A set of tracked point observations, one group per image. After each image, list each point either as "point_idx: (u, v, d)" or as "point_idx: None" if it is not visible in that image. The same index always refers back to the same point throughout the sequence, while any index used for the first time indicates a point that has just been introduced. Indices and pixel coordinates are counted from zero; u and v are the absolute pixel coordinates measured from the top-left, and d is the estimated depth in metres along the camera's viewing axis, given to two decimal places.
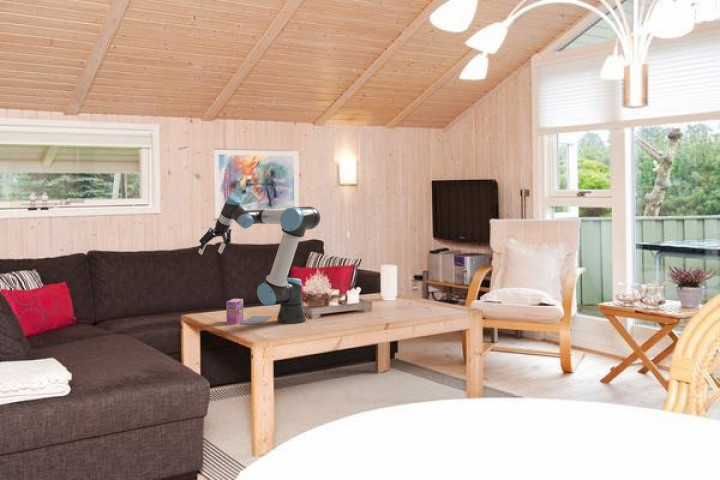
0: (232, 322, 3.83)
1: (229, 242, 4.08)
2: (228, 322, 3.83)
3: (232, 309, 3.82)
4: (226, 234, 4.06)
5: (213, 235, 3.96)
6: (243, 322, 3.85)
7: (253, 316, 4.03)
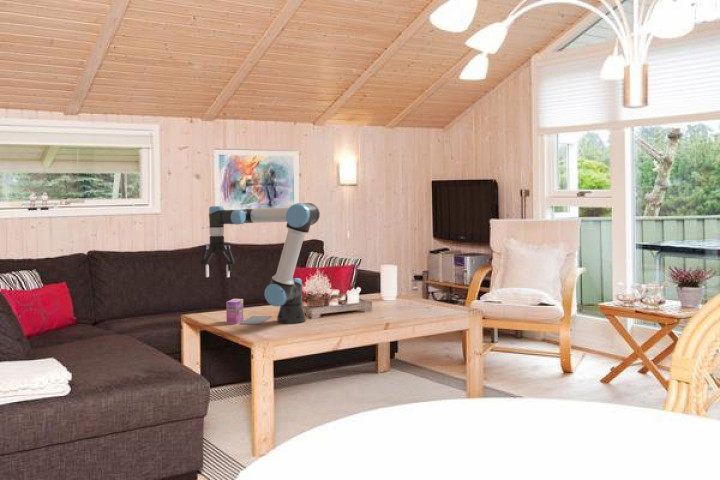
0: (232, 322, 3.83)
1: (231, 262, 3.85)
2: (228, 322, 3.83)
3: (232, 309, 3.82)
4: None
5: (210, 252, 3.87)
6: (243, 322, 3.85)
7: (253, 316, 4.03)
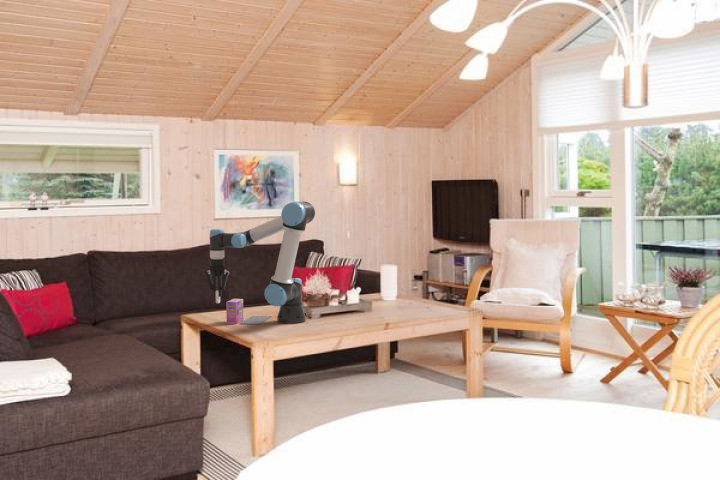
0: (232, 322, 3.83)
1: (222, 288, 3.87)
2: (228, 322, 3.83)
3: (232, 309, 3.82)
4: None
5: None
6: (243, 322, 3.85)
7: (253, 316, 4.03)
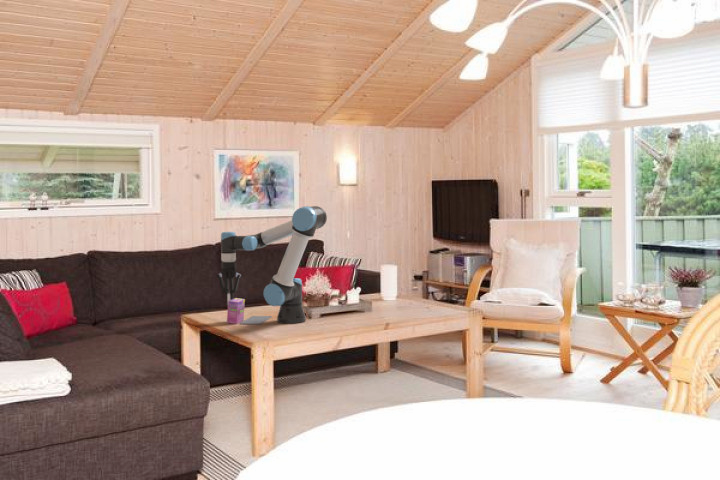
0: (232, 322, 3.83)
1: (233, 291, 3.86)
2: (228, 321, 3.83)
3: (233, 309, 3.82)
4: None
5: (225, 279, 3.86)
6: (243, 322, 3.85)
7: (253, 316, 4.03)
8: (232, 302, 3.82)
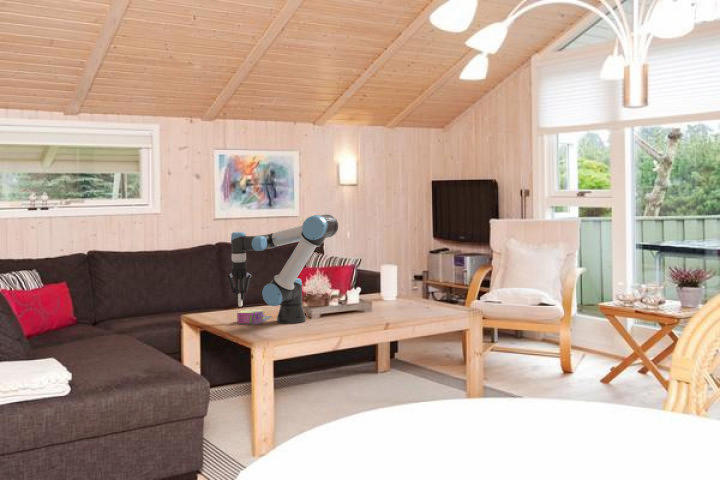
0: (238, 319, 3.82)
1: (244, 291, 3.85)
2: (238, 314, 3.82)
3: (251, 319, 3.81)
4: None
5: None
6: None
7: None
8: (257, 317, 3.81)
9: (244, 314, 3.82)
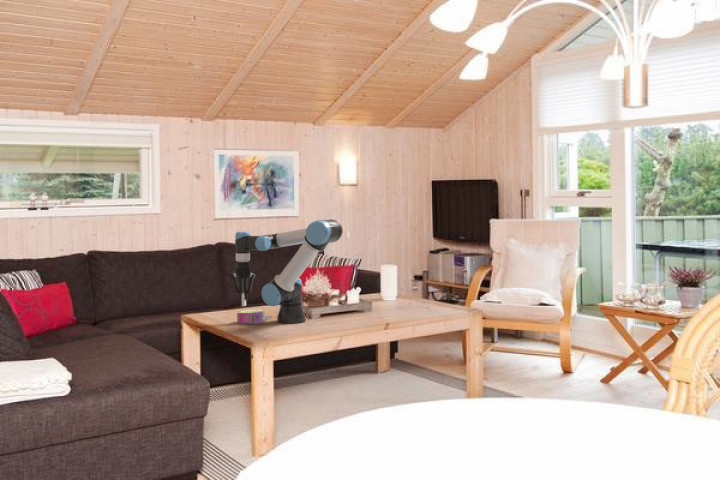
0: (238, 319, 3.82)
1: (248, 291, 3.85)
2: (238, 314, 3.82)
3: (251, 319, 3.81)
4: None
5: (239, 279, 3.85)
6: None
7: None
8: (257, 317, 3.81)
9: (244, 314, 3.82)
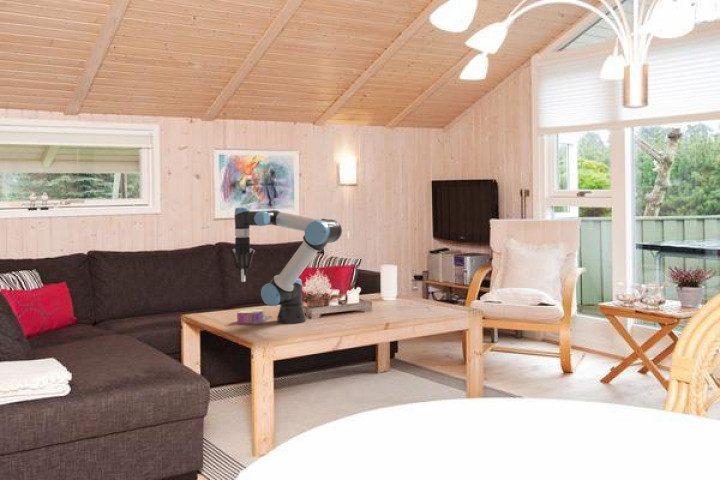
0: (238, 319, 3.82)
1: (247, 266, 3.84)
2: (238, 314, 3.82)
3: (251, 319, 3.81)
4: None
5: (238, 255, 3.85)
6: None
7: None
8: (257, 317, 3.81)
9: (244, 314, 3.82)
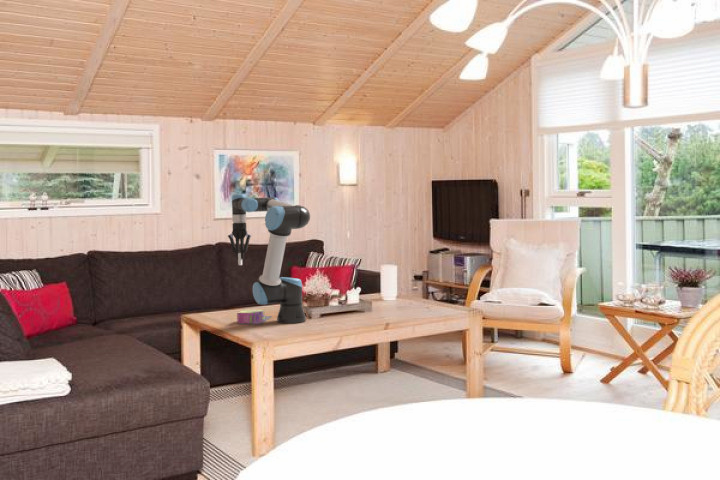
0: (238, 319, 3.82)
1: (244, 250, 4.04)
2: (238, 314, 3.82)
3: (251, 319, 3.81)
4: None
5: None
6: None
7: None
8: (257, 317, 3.81)
9: (244, 314, 3.82)
